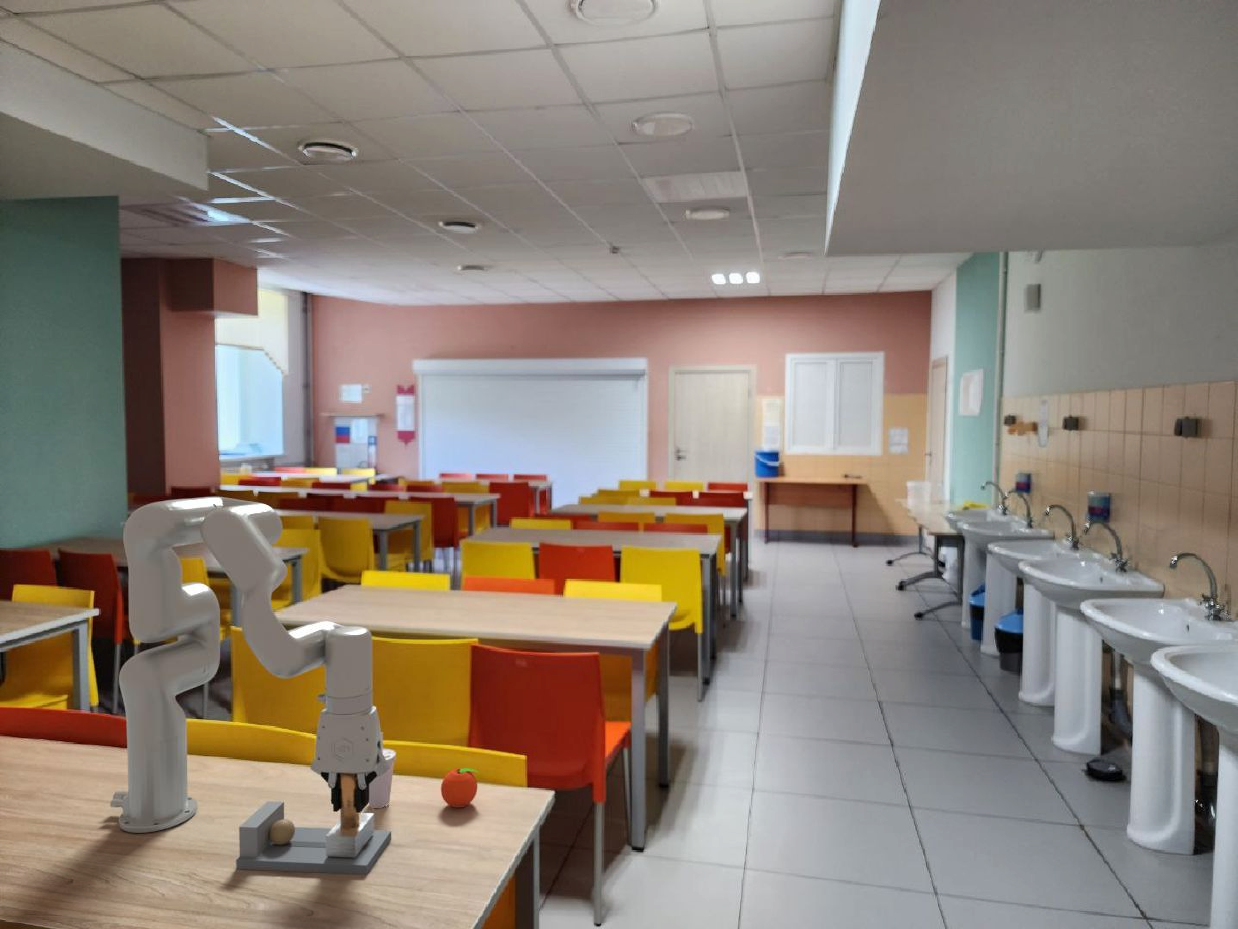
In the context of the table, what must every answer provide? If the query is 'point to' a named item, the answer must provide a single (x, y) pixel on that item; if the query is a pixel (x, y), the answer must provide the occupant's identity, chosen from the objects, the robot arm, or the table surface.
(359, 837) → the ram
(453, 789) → the clementine
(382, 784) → the smoothie
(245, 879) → the table surface
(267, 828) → the frame
